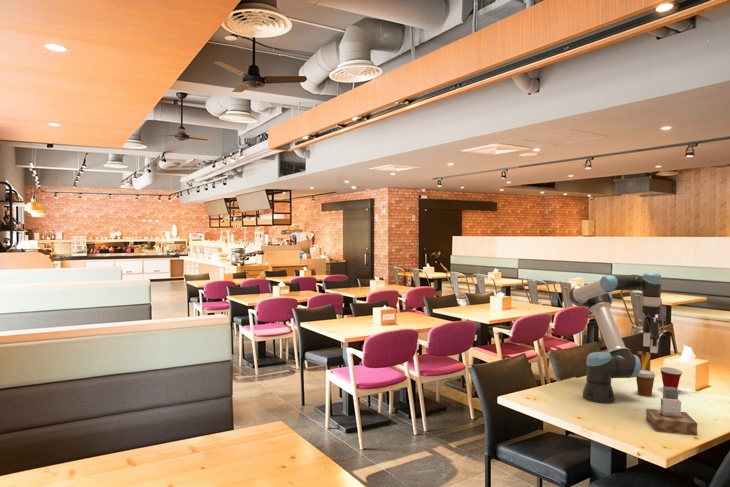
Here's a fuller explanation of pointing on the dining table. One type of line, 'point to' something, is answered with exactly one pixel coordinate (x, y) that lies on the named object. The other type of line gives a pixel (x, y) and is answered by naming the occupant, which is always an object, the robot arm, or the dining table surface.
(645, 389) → the disposable coffee cup
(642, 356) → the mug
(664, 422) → the socket block
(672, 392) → the square steel bar
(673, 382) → the plastic cup
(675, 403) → the pale grey rectangular block
